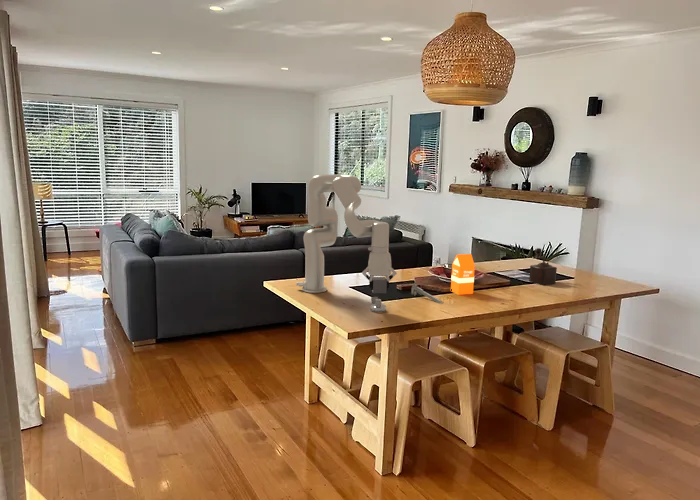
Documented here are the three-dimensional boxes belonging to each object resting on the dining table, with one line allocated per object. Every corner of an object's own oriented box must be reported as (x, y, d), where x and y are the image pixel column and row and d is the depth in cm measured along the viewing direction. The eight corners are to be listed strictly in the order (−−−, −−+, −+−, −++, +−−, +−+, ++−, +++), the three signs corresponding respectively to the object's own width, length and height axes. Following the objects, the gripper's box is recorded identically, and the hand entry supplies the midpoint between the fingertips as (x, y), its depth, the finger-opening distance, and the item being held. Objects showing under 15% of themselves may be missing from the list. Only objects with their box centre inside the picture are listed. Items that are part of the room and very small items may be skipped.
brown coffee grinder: (556, 283, 302) (559, 252, 299) (542, 285, 297) (545, 253, 294) (535, 277, 316) (538, 247, 312) (521, 279, 311) (524, 248, 307)
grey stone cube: (372, 293, 239) (373, 280, 238) (371, 289, 245) (371, 276, 244) (386, 293, 239) (386, 280, 238) (384, 289, 245) (385, 276, 244)
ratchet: (370, 312, 240) (371, 301, 239) (366, 299, 261) (367, 289, 260) (386, 312, 241) (386, 302, 240) (381, 299, 261) (381, 289, 260)
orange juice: (450, 290, 281) (452, 253, 277) (465, 289, 284) (467, 252, 280) (458, 294, 274) (460, 256, 270) (473, 293, 277) (475, 255, 273)
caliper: (411, 295, 272) (411, 283, 271) (412, 294, 273) (413, 282, 272) (441, 304, 257) (442, 291, 256) (443, 304, 257) (443, 291, 256)
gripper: (361, 251, 234) (360, 291, 238) (400, 251, 235) (399, 291, 239) (359, 248, 242) (359, 287, 245) (398, 248, 243) (396, 287, 246)
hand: (379, 289), depth 242 cm, fingers closed on grey stone cube, 6 cm apart
